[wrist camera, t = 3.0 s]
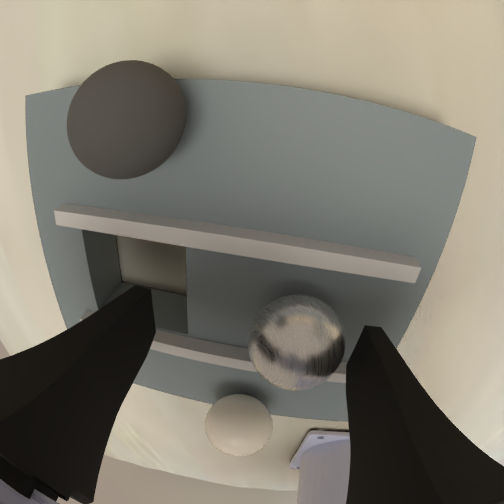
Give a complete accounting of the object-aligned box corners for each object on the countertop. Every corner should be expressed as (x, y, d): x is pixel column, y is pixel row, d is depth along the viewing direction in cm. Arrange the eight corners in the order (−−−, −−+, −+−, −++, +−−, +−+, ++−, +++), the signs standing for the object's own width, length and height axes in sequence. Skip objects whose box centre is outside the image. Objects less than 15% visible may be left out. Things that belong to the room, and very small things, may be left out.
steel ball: (379, 321, 8) (294, 360, 7) (347, 385, 10) (273, 422, 9) (315, 267, 11) (234, 286, 9) (298, 332, 12) (228, 355, 11)
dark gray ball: (206, 63, 7) (159, 49, 5) (198, 166, 9) (153, 203, 6) (111, 67, 8) (42, 68, 5) (109, 160, 9) (47, 192, 6)
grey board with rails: (444, 126, 9) (487, 141, 6) (347, 387, 17) (350, 431, 14) (63, 89, 10) (13, 98, 8) (99, 338, 18) (76, 372, 15)
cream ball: (280, 387, 13) (273, 445, 11) (270, 418, 15) (263, 469, 12) (213, 375, 14) (196, 431, 11) (213, 408, 15) (199, 457, 12)
